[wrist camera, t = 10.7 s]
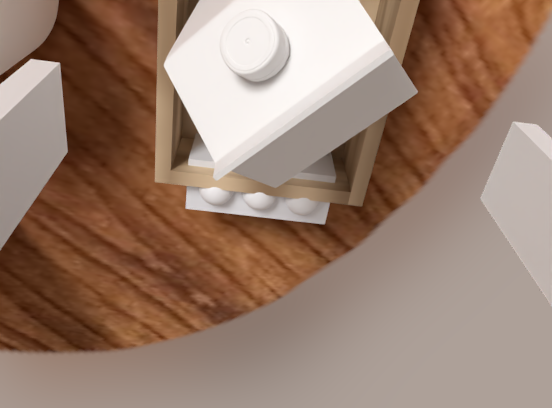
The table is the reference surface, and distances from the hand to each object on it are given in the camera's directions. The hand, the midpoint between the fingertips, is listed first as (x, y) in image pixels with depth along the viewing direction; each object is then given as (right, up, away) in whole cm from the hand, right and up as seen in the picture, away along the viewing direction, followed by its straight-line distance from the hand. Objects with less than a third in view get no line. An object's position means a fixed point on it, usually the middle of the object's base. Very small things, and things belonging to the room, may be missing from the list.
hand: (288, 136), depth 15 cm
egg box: (-2, +1, +24) cm, 24 cm away
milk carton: (0, +11, +17) cm, 21 cm away
